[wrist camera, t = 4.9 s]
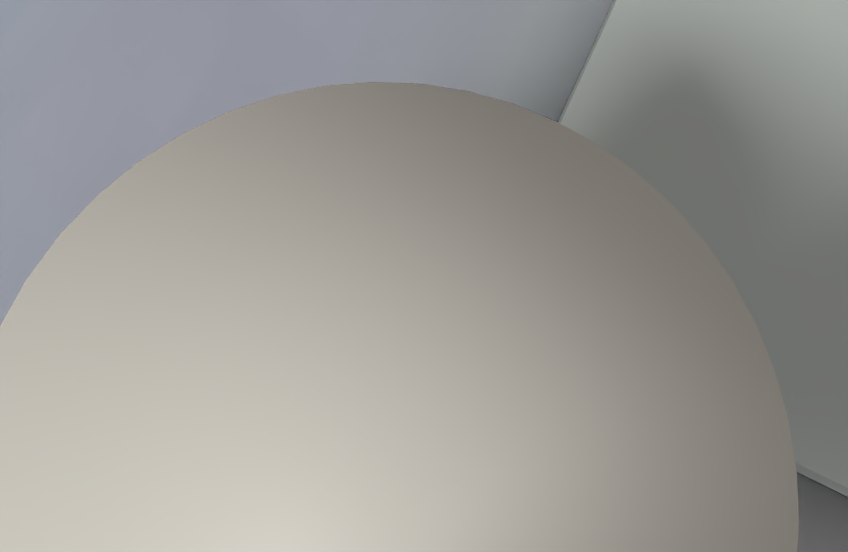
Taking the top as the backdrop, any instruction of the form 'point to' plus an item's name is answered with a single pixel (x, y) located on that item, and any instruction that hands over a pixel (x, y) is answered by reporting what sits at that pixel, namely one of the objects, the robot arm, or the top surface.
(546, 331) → the stool
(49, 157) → the top surface
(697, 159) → the mat
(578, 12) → the top surface
